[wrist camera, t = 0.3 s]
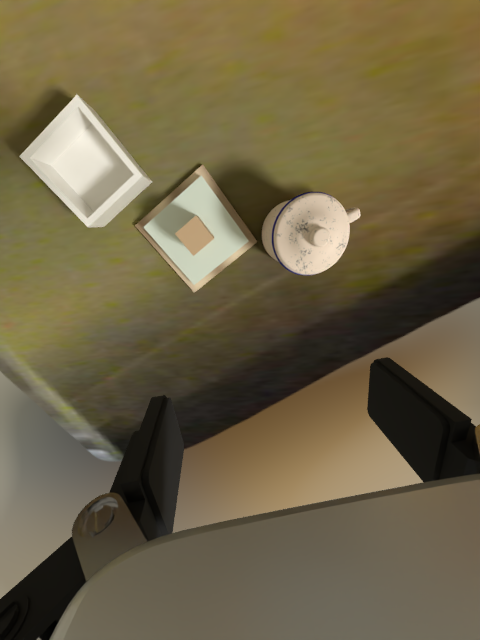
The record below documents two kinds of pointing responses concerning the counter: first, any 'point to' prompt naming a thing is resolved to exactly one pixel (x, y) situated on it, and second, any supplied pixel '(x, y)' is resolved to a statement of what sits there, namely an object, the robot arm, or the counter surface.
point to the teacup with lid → (308, 232)
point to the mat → (228, 207)
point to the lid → (196, 231)
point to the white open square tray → (86, 164)
